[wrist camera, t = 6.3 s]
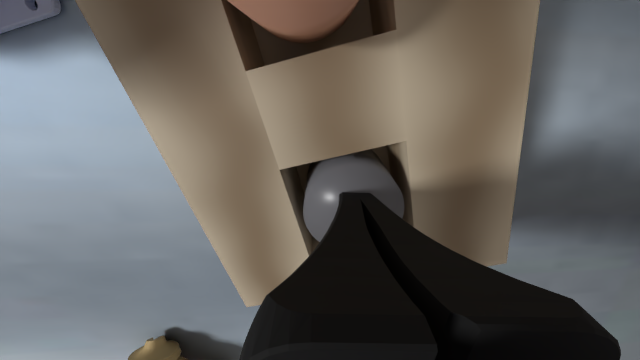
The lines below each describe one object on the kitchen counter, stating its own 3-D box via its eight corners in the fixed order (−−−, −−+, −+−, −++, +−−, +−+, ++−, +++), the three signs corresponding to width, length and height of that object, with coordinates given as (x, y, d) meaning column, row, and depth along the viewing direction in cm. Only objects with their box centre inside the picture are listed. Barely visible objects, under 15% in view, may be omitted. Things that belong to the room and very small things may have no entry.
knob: (317, 217, 15) (316, 259, 11) (297, 152, 13) (290, 179, 10) (388, 203, 14) (408, 242, 11) (378, 133, 12) (399, 155, 9)
